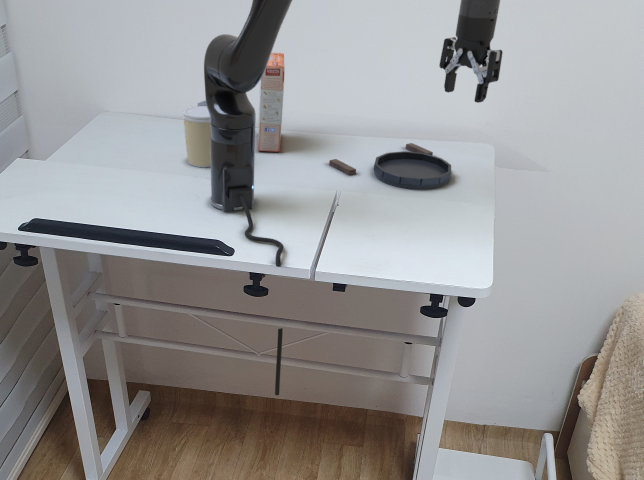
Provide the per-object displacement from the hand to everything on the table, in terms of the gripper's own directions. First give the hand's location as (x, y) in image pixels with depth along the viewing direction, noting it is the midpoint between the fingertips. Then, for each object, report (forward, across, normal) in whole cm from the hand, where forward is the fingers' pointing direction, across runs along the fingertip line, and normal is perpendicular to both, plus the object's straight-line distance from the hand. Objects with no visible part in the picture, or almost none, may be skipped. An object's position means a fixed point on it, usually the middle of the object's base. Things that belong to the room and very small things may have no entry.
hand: (463, 96), depth 153 cm
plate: (+21, -12, 0) cm, 24 cm away
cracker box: (+21, -47, -17) cm, 54 cm away
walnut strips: (+21, -23, 0) cm, 31 cm away
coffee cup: (+20, -44, -39) cm, 62 cm away
